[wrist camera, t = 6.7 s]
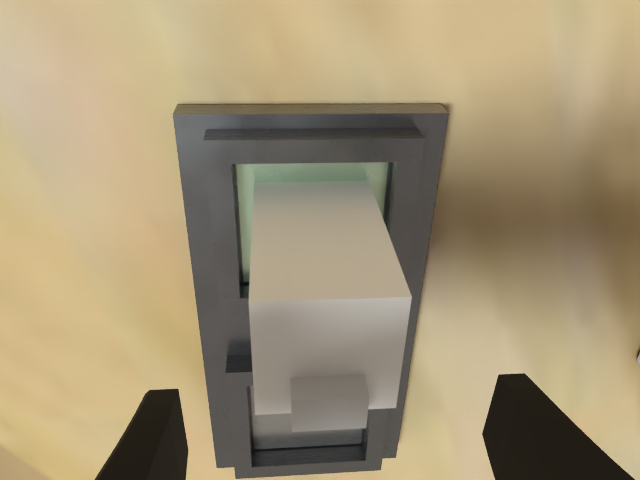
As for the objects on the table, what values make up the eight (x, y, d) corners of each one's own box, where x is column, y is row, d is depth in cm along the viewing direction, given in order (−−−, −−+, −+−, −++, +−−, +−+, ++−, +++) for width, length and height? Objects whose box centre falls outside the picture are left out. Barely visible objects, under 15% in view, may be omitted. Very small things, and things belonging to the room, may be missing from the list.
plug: (369, 180, 19) (419, 318, 13) (361, 273, 21) (401, 431, 15) (254, 182, 19) (247, 324, 12) (258, 277, 21) (254, 438, 14)
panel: (440, 103, 19) (457, 123, 17) (392, 441, 28) (399, 475, 27) (177, 104, 18) (168, 125, 16) (218, 450, 27) (215, 486, 26)
